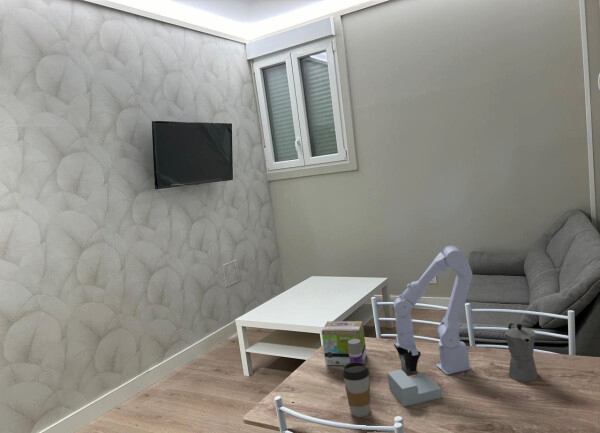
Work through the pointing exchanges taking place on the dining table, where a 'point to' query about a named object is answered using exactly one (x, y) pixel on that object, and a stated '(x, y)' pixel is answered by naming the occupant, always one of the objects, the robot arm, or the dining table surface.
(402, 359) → the column
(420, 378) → the stepped stand
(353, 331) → the tea box
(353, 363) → the coffee cup
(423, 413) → the dining table surface
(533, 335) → the coffeepot
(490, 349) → the dining table surface
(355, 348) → the container
